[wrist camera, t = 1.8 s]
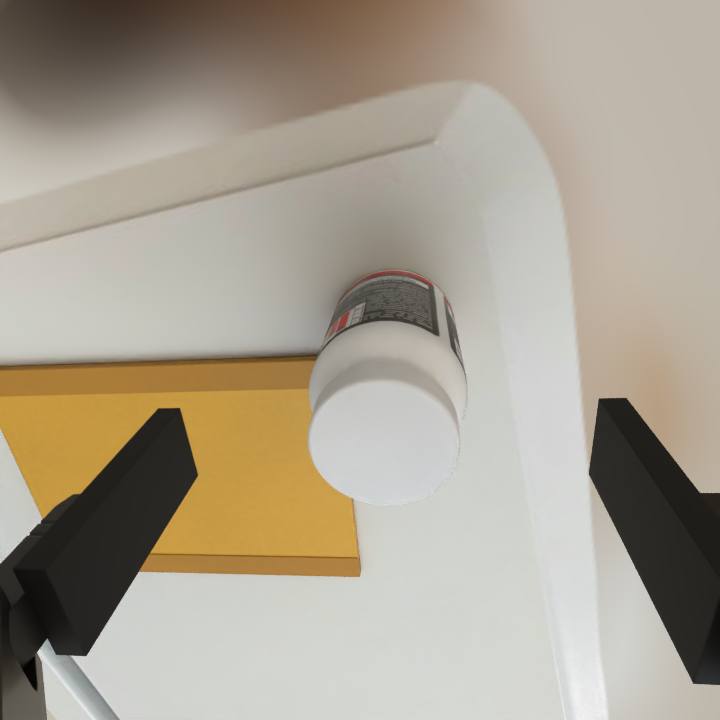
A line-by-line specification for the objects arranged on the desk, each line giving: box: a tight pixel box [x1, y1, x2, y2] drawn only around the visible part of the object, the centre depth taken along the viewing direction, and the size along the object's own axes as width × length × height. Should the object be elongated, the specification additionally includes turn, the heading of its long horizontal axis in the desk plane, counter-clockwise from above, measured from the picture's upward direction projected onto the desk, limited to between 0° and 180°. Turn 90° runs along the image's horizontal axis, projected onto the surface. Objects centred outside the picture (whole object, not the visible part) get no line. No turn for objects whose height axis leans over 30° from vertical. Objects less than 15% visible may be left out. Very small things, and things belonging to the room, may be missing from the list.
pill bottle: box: [308, 270, 467, 506], centre depth 19 cm, size 6×6×10 cm
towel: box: [0, 356, 361, 577], centre depth 29 cm, size 15×20×1 cm
